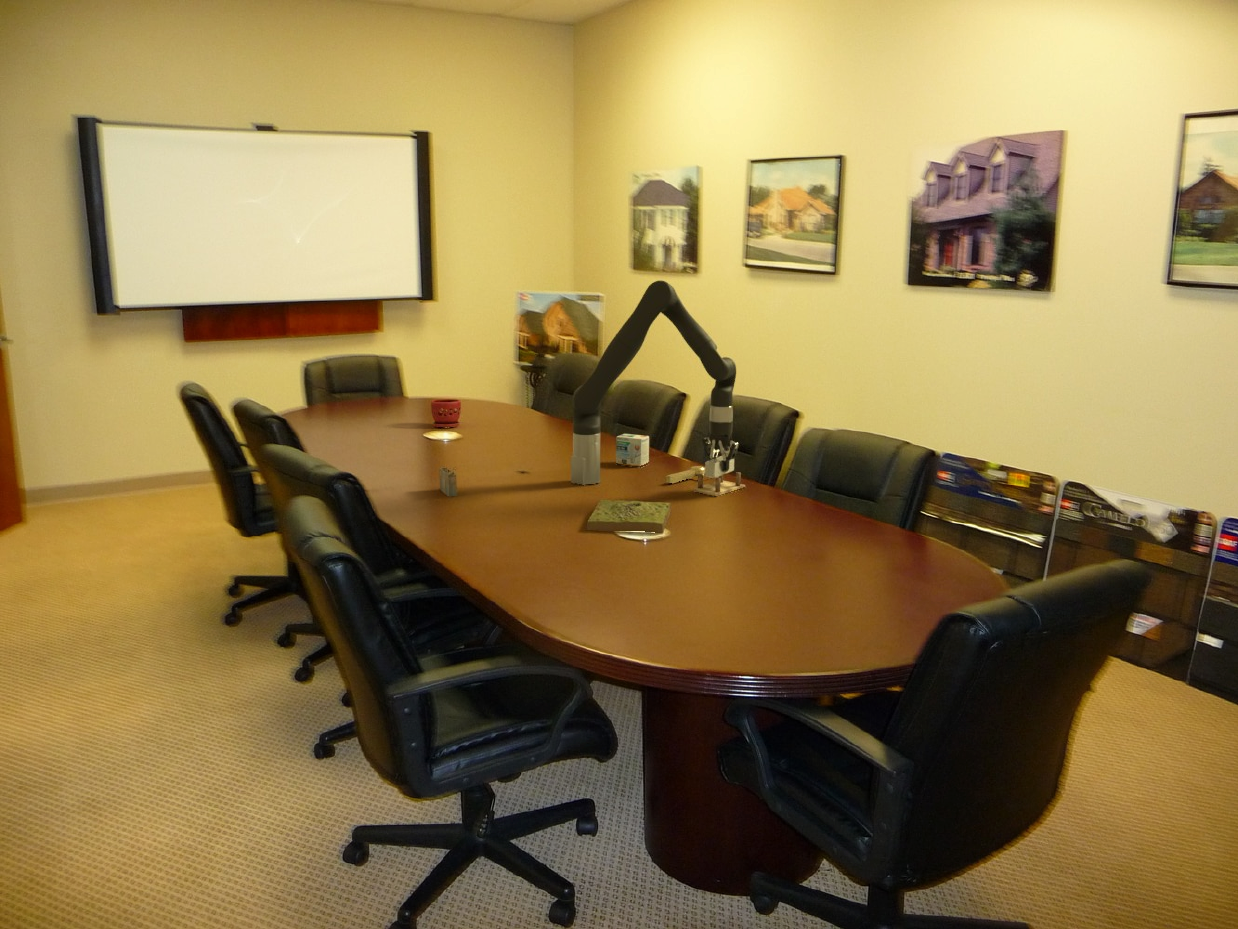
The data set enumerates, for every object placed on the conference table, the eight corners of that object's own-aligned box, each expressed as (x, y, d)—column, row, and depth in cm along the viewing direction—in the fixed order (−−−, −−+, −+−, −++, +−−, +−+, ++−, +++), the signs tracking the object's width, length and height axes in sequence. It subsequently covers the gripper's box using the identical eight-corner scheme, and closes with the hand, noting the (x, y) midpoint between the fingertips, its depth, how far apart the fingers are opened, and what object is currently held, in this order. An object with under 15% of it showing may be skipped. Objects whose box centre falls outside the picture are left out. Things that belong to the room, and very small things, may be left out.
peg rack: (715, 497, 314) (716, 480, 313) (692, 491, 320) (692, 475, 319) (745, 488, 325) (745, 472, 324) (722, 483, 332) (722, 467, 330)
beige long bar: (673, 484, 328) (674, 476, 327) (662, 482, 331) (662, 473, 331) (707, 475, 341) (708, 467, 341) (696, 473, 345) (696, 465, 344)
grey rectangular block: (714, 478, 315) (714, 463, 314) (704, 476, 317) (705, 461, 316) (733, 470, 326) (734, 455, 325) (724, 469, 328) (725, 454, 327)
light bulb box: (615, 464, 360) (615, 436, 358) (623, 461, 366) (624, 433, 363) (641, 467, 355) (641, 438, 353) (649, 464, 361) (649, 435, 359)
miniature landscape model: (586, 532, 276) (586, 515, 275) (600, 510, 299) (600, 494, 298) (662, 535, 273) (663, 518, 272) (671, 513, 296) (671, 497, 295)
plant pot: (466, 427, 432) (465, 400, 429) (438, 430, 425) (437, 403, 422) (454, 423, 442) (453, 397, 440) (427, 425, 436) (426, 399, 433)
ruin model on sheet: (458, 497, 313) (457, 468, 310) (449, 498, 311) (448, 469, 309) (449, 489, 323) (448, 461, 321) (440, 490, 321) (439, 461, 319)
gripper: (696, 418, 320) (695, 469, 323) (731, 423, 310) (730, 475, 314) (710, 415, 325) (709, 465, 329) (745, 420, 316) (744, 472, 319)
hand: (719, 470), depth 321 cm, fingers closed on grey rectangular block, 4 cm apart
